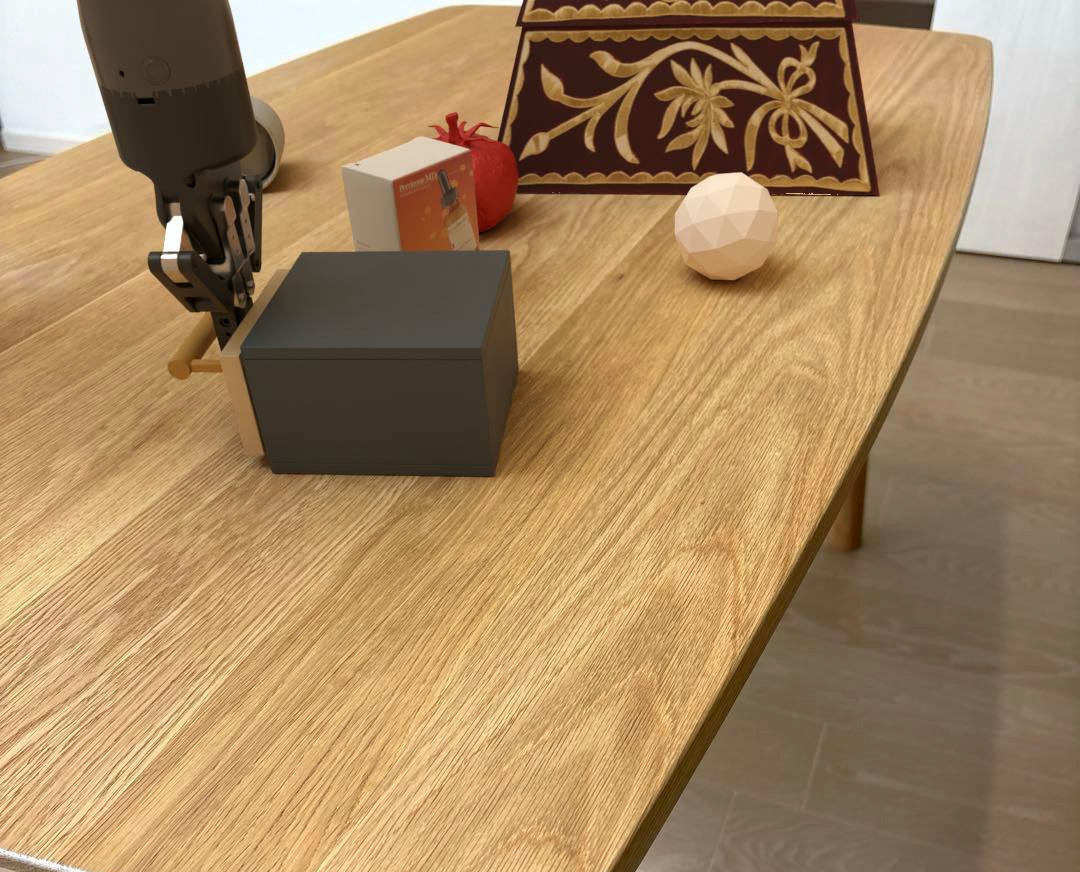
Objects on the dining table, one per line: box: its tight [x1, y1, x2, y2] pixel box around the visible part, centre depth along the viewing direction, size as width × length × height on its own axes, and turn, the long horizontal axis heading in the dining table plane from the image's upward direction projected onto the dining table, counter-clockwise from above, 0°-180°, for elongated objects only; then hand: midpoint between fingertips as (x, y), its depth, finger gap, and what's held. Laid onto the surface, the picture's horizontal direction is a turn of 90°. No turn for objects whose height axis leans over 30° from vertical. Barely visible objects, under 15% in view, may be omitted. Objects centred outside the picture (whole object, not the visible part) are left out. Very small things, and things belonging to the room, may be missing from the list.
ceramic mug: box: [240, 95, 286, 190], centre depth 102 cm, size 11×8×8 cm
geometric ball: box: [674, 172, 779, 281], centre depth 80 cm, size 8×8×8 cm
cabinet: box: [240, 249, 520, 477], centre depth 66 cm, size 14×13×9 cm
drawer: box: [166, 268, 291, 456], centre depth 66 cm, size 17×11×7 cm
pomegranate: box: [427, 111, 519, 233], centre depth 91 cm, size 10×10×9 cm
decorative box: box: [496, 0, 881, 197], centre depth 97 cm, size 35×19×20 cm, turn 81°
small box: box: [340, 135, 481, 252], centre depth 79 cm, size 8×6×10 cm
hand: (244, 356), depth 67 cm, fingers closed
